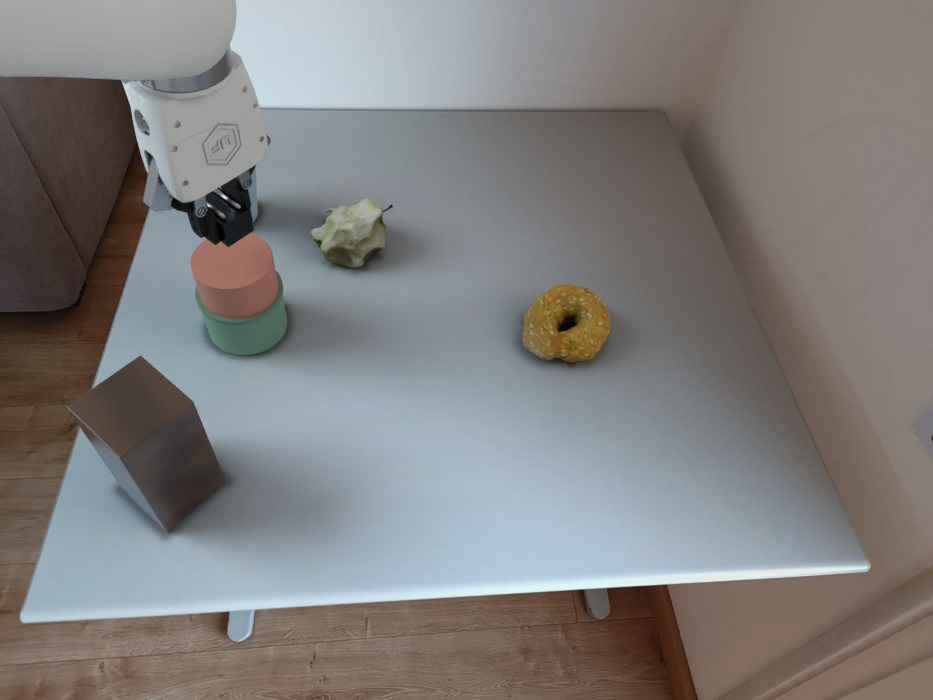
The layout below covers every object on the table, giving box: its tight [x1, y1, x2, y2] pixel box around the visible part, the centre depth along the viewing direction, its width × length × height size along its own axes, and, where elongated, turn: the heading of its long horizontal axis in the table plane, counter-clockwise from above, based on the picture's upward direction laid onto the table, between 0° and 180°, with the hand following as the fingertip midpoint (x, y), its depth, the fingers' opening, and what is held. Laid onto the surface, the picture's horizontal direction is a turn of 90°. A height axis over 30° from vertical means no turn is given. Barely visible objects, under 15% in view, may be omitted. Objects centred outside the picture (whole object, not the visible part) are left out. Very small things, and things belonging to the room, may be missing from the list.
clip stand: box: [66, 355, 227, 533], centre depth 64 cm, size 7×7×15 cm
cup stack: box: [189, 232, 288, 356], centre depth 78 cm, size 9×9×11 cm
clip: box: [206, 188, 255, 247], centre depth 69 cm, size 3×5×3 cm, turn 51°
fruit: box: [310, 197, 394, 269], centre depth 88 cm, size 9×9×8 cm
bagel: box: [521, 283, 611, 363], centre depth 84 cm, size 10×11×5 cm
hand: (224, 224), depth 70 cm, fingers closed on clip, 3 cm apart
